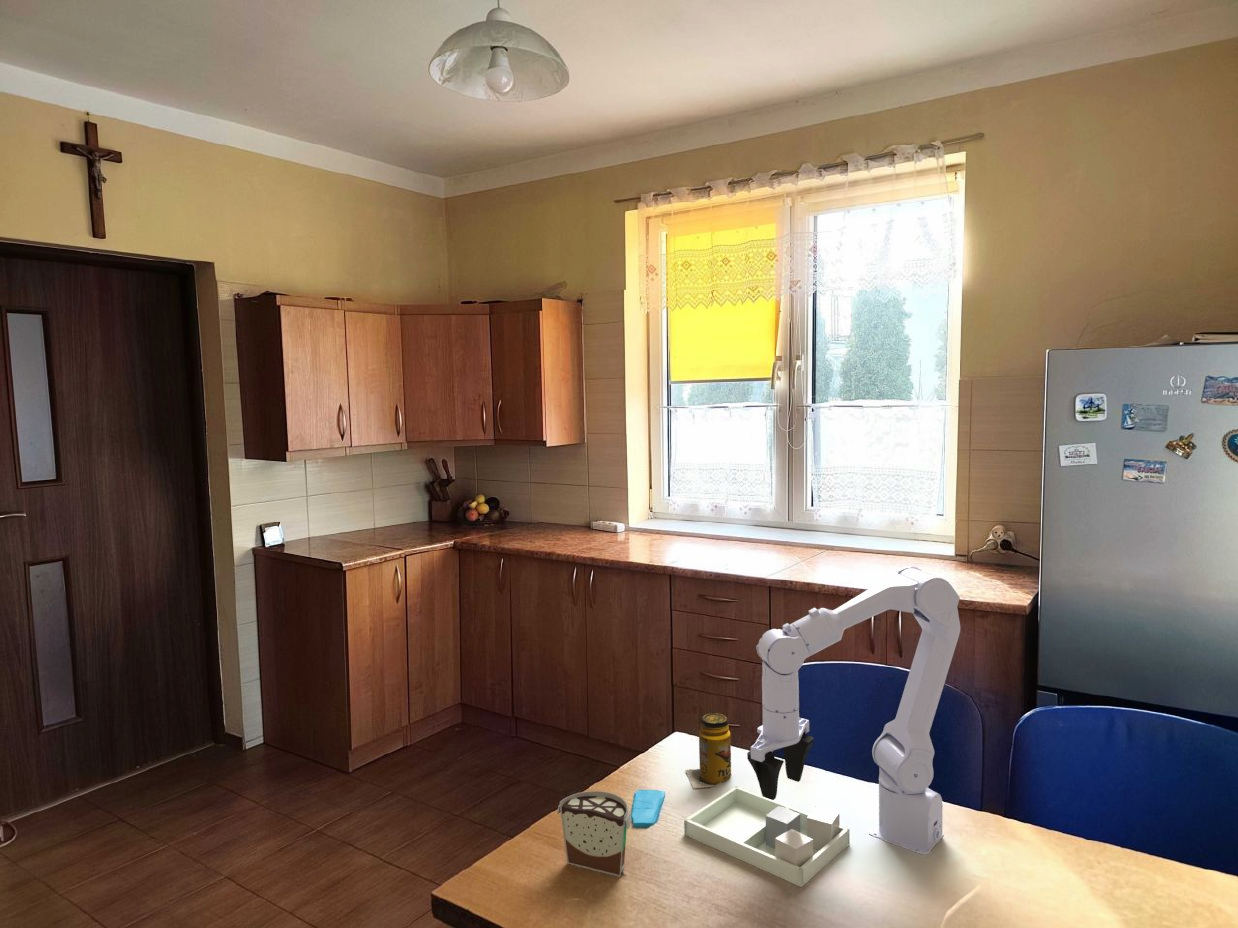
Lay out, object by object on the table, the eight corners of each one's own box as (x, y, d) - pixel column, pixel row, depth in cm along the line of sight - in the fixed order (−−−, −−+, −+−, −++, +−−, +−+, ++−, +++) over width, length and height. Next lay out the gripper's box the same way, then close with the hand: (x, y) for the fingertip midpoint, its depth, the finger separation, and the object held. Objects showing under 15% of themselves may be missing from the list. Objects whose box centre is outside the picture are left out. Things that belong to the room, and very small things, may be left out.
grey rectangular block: (800, 843, 128) (800, 813, 128) (787, 854, 126) (787, 823, 125) (779, 834, 131) (778, 805, 131) (765, 844, 128) (765, 815, 128)
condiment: (737, 785, 149) (736, 723, 148) (693, 789, 148) (692, 727, 147) (727, 767, 157) (726, 708, 156) (685, 771, 156) (683, 712, 155)
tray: (849, 846, 128) (849, 828, 128) (801, 889, 117) (801, 870, 117) (736, 802, 143) (736, 786, 143) (684, 837, 132) (684, 819, 132)
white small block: (839, 842, 128) (839, 812, 128) (831, 854, 125) (831, 823, 125) (815, 835, 131) (815, 806, 130) (807, 847, 127) (806, 817, 127)
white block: (813, 870, 121) (812, 839, 121) (796, 881, 119) (796, 849, 118) (792, 859, 124) (791, 828, 124) (775, 869, 122) (775, 837, 121)
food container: (645, 857, 127) (643, 797, 126) (629, 879, 121) (627, 816, 120) (577, 841, 132) (575, 783, 131) (559, 861, 126) (556, 801, 125)
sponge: (621, 822, 136) (654, 821, 135) (634, 788, 148) (665, 787, 147) (622, 831, 136) (655, 830, 135) (636, 796, 148) (666, 795, 147)
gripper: (782, 687, 135) (783, 764, 136) (733, 713, 124) (735, 797, 125) (820, 697, 130) (821, 777, 131) (772, 725, 119) (773, 812, 120)
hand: (781, 788), depth 128 cm, fingers open, 7 cm apart
